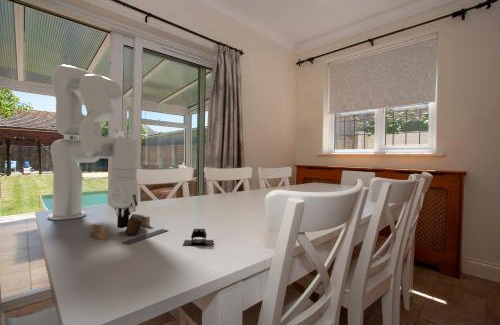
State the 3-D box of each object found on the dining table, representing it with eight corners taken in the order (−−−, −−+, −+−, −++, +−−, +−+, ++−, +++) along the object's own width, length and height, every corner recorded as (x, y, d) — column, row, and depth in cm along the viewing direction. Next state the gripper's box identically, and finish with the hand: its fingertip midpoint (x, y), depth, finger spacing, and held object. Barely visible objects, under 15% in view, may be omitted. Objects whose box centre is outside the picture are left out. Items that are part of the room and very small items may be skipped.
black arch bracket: (175, 249, 72) (176, 233, 72) (180, 240, 79) (180, 226, 79) (218, 248, 73) (219, 233, 73) (219, 240, 80) (219, 226, 80)
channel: (89, 236, 79) (89, 225, 79) (137, 223, 95) (137, 214, 95) (102, 239, 76) (102, 228, 76) (149, 225, 92) (149, 216, 92)
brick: (137, 236, 80) (141, 221, 80) (124, 234, 79) (128, 219, 79) (140, 226, 90) (144, 214, 91) (129, 225, 89) (132, 212, 89)
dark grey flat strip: (121, 242, 74) (121, 242, 74) (161, 229, 88) (161, 228, 88) (128, 244, 72) (128, 244, 72) (168, 230, 87) (168, 230, 87)
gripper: (99, 173, 84) (98, 226, 85) (129, 176, 78) (128, 233, 78) (119, 172, 91) (118, 221, 92) (149, 174, 85) (147, 227, 85)
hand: (123, 227), depth 85 cm, fingers closed
